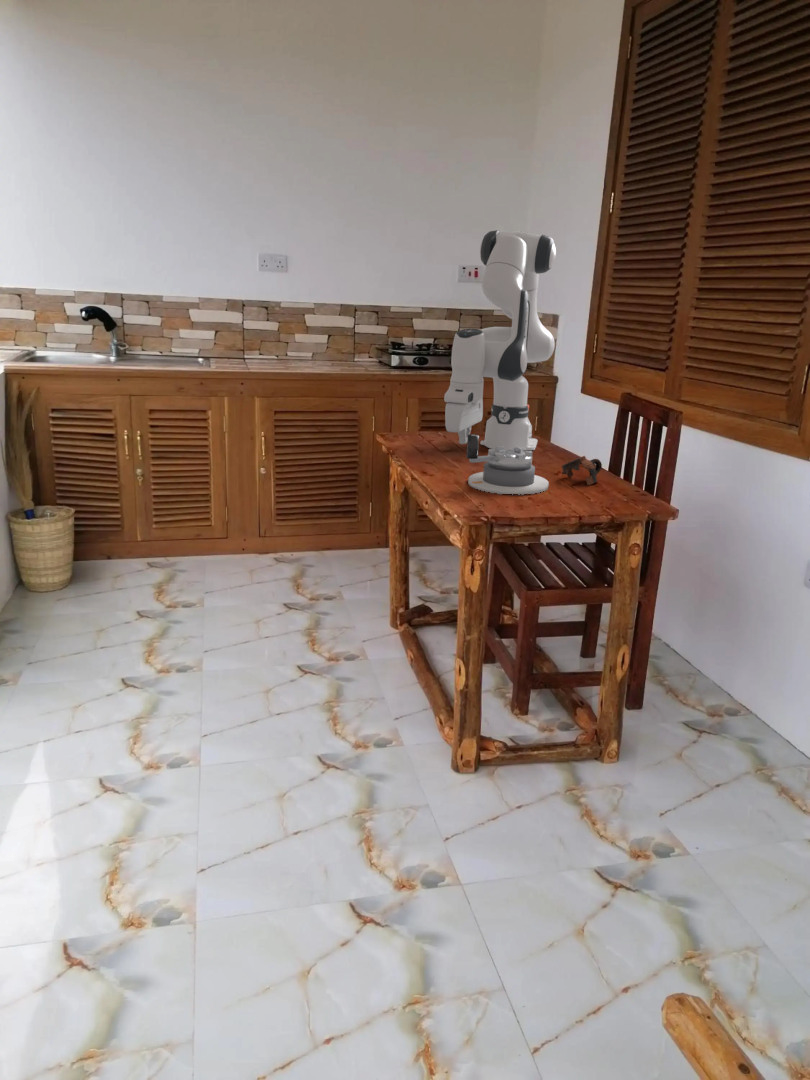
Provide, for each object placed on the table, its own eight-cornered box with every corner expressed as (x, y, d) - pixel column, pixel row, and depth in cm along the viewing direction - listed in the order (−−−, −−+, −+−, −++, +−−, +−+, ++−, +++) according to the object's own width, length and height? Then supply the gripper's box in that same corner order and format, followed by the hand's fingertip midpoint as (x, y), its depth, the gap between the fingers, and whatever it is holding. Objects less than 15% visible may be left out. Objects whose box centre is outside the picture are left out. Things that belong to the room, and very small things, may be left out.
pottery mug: (582, 489, 222) (570, 461, 222) (563, 496, 230) (552, 469, 230) (614, 474, 227) (602, 447, 226) (594, 481, 235) (583, 455, 235)
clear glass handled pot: (455, 464, 220) (457, 431, 217) (515, 458, 228) (518, 427, 225) (478, 474, 210) (480, 440, 207) (540, 468, 218) (542, 435, 215)
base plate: (483, 471, 236) (484, 454, 234) (556, 480, 228) (558, 462, 226) (456, 488, 217) (457, 469, 215) (536, 499, 208) (537, 479, 207)
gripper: (468, 386, 224) (465, 435, 229) (441, 396, 207) (439, 448, 211) (489, 388, 222) (486, 437, 227) (464, 398, 204) (462, 451, 209)
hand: (463, 443), depth 219 cm, fingers closed
